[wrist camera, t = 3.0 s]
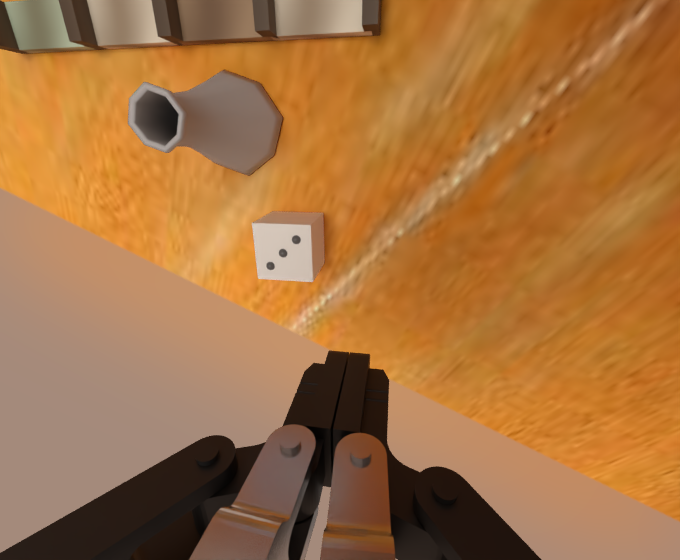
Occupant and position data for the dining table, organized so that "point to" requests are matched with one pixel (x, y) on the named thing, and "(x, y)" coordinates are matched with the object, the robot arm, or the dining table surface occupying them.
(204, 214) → the dining table surface
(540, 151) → the dining table surface
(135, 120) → the flask
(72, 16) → the strip
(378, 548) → the robot arm
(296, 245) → the die
